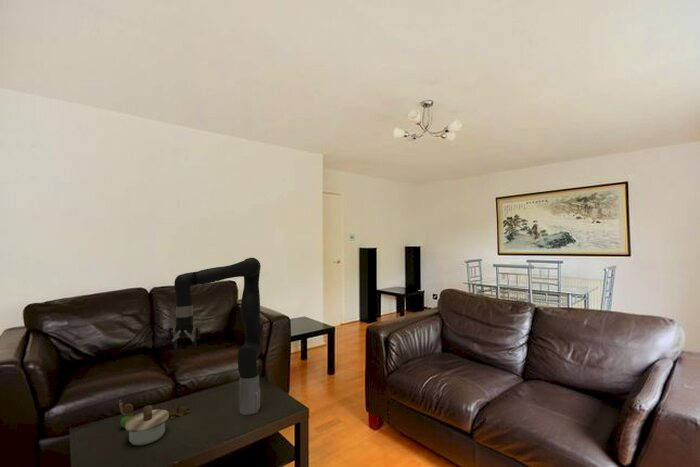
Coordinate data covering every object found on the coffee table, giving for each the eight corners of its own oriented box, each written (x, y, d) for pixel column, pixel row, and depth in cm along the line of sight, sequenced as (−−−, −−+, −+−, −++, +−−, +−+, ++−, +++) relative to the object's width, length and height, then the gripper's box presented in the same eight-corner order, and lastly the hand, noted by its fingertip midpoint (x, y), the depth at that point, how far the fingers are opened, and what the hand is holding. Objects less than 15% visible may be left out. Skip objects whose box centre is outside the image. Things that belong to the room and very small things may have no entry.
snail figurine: (122, 424, 150) (122, 397, 150) (137, 423, 151) (137, 397, 151) (114, 430, 145) (115, 403, 145) (130, 430, 145) (130, 402, 145)
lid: (175, 411, 149) (176, 397, 149) (156, 431, 133) (156, 416, 133) (140, 412, 148) (140, 398, 148) (116, 432, 132) (116, 417, 132)
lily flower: (168, 423, 151) (168, 413, 151) (159, 414, 159) (159, 405, 159) (195, 413, 160) (195, 403, 160) (185, 405, 168) (185, 396, 168)
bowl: (170, 427, 147) (170, 413, 147) (154, 445, 134) (154, 429, 134) (141, 428, 146) (141, 413, 147) (121, 446, 133) (122, 430, 134)
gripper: (202, 313, 162) (202, 346, 161) (173, 313, 161) (173, 346, 161) (196, 316, 154) (195, 351, 154) (165, 317, 154) (165, 351, 153)
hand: (184, 348), depth 157 cm, fingers open, 8 cm apart
